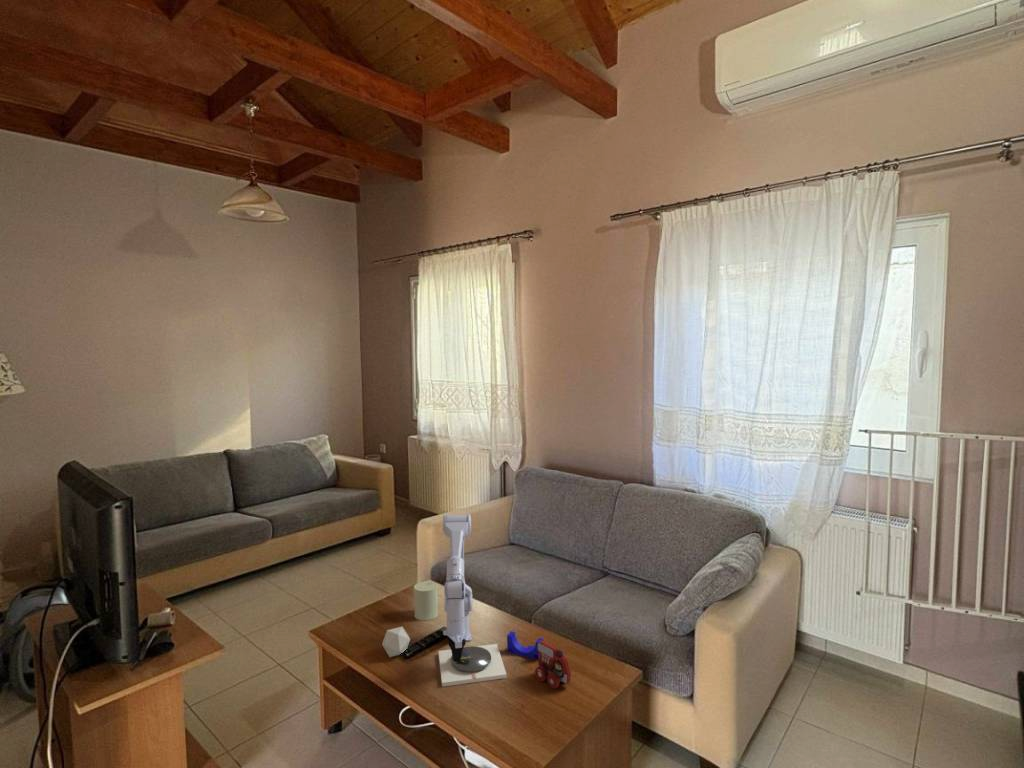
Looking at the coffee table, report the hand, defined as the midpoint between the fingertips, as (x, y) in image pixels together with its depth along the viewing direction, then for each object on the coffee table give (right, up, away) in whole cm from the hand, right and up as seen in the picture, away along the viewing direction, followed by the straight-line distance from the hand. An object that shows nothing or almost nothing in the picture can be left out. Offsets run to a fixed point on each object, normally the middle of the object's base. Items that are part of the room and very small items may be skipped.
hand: (456, 658), depth 171 cm
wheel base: (+5, -3, +1) cm, 6 cm away
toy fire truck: (+31, -3, -7) cm, 32 cm away
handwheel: (+5, -1, +1) cm, 5 cm away
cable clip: (+23, -3, +8) cm, 24 cm away
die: (-21, -3, +9) cm, 24 cm away
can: (-15, -2, +36) cm, 39 cm away
